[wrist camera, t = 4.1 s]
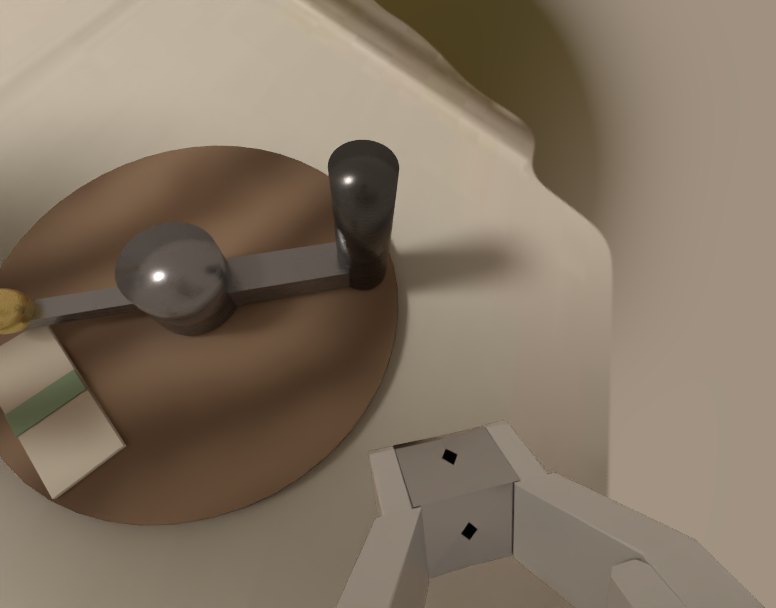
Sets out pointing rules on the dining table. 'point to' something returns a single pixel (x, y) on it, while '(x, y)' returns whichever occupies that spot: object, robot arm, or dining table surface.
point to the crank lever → (237, 260)
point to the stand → (185, 348)
